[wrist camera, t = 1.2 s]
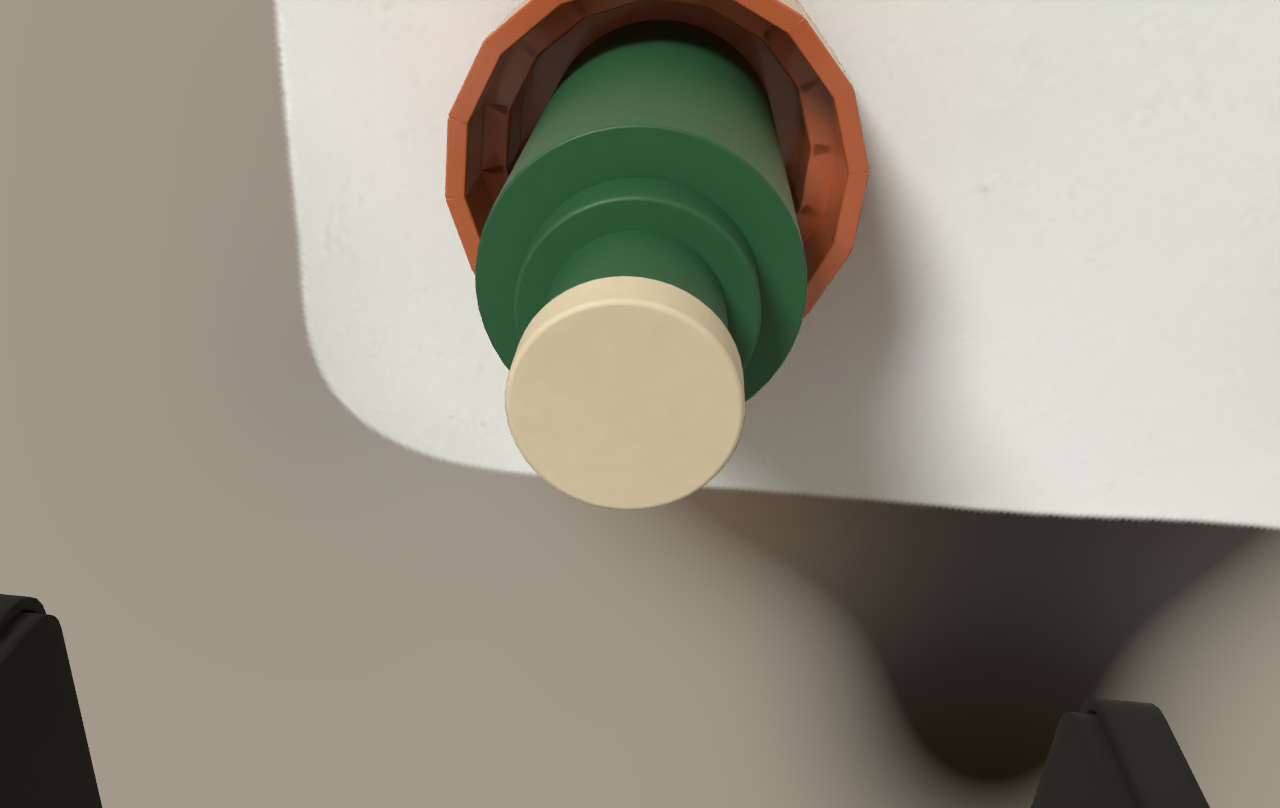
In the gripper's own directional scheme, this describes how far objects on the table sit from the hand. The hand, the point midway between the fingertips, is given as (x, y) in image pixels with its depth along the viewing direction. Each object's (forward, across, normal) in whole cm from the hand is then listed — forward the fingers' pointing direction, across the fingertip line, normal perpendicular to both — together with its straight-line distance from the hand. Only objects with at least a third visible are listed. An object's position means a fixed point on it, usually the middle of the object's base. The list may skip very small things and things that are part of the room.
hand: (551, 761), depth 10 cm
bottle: (+23, 0, 0) cm, 23 cm away
